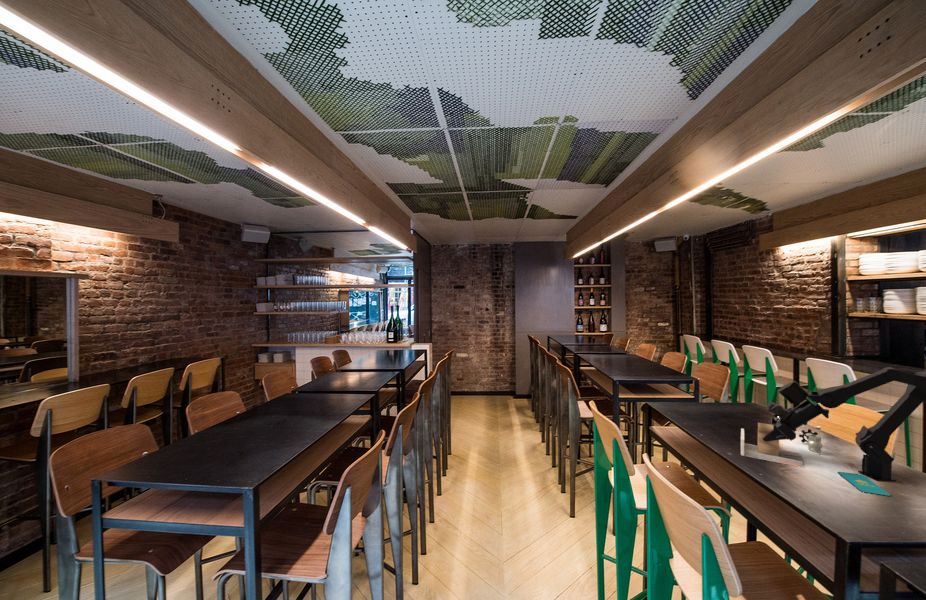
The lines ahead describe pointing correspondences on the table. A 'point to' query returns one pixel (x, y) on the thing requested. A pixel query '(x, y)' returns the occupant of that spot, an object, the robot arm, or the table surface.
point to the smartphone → (863, 484)
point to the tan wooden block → (766, 446)
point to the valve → (812, 441)
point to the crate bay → (779, 458)
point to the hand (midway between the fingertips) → (763, 437)
